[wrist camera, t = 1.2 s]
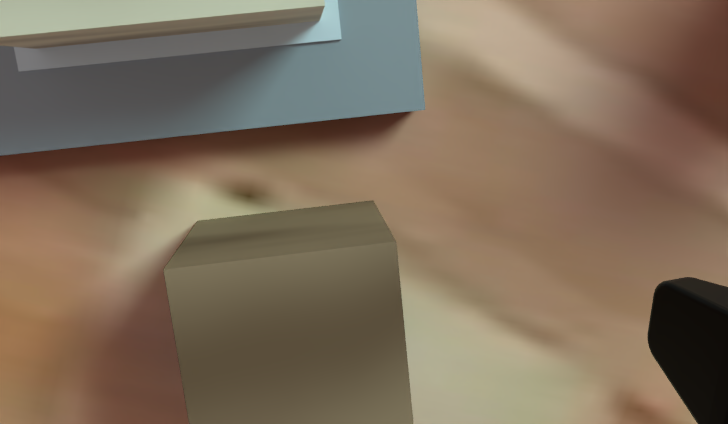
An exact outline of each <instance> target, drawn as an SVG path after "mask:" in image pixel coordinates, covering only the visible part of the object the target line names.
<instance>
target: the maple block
mask: <svg viewBox="0 0 728 424" xmlns="http://www.w3.org/2000/svg"><path fill="white" fill-rule="evenodd" d="M324 7H325V1H324V0H0V46H10V47H22V48H33V49H38V48H48V47H58V46H68V45H78V44H89V43H99V42H109V41H119V40H129V39H139V38H149V37H160V36H170V35H180V34H190V33H200V32H210V31H221V30H231V29H241V28H251V27H261V26H271V25H281V24H292V23H302V22H312V21H320V19H321V16H322V13H323V10H324Z"/></svg>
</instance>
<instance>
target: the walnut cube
mask: <svg viewBox="0 0 728 424" xmlns="http://www.w3.org/2000/svg"><path fill="white" fill-rule="evenodd" d="M163 271H164V277H165V283H166V289H167V295H168V301H169V307H170V312H171V318H172V324H173V330H174V336H175V342H176V348H177V354H178V360H179V366H180V372H181V378H182V384H183V390H184V396H185V402H186V408H187V414H188V419H189V424H413V415H412V404H411V394H410V383H409V372H408V362H407V351H406V341H405V330H404V319H403V309H402V298H401V288H400V277H399V266H398V256H397V245H396V240H395V239H394V237H393V235H392V233H391V231H390V230H389V228H388V226H387V224H386V223H385V221H384V219H383V217H382V215H381V214H380V212H379V210H378V208H377V206H376V205H375V203H374V201H364V202H356V203H347V204H339V205H330V206H321V207H313V208H304V209H296V210H287V211H278V212H270V213H261V214H253V215H244V216H236V217H227V218H218V219H210V220H201V221H197V222H196V224H195V225H194V227H193V228H192V230H191V231H190V232H189V234H188V235H187V237H186V238H185V240H184V241H183V242H182V244H181V245H180V247H179V248H178V249H177V251H176V252H175V254H174V255H173V257H172V258H171V259H170V261H169V262H168V264H167V265H166V267H165V268H164V269H163Z"/></svg>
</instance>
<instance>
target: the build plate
mask: <svg viewBox="0 0 728 424" xmlns="http://www.w3.org/2000/svg"><path fill="white" fill-rule="evenodd" d="M324 1H325V7H324V10H323V13H322V16H321V19H320V21H312V22H302V23H292V24H281V25H271V26H261V27H251V28H241V29H231V30H221V31H210V32H200V33H190V34H180V35H170V36H160V37H149V38H139V39H129V40H119V41H109V42H99V43H89V44H78V45H68V46H58V47H48V48H38V49H33V48H22V47H10V46H0V156H2V155H11V154H20V153H29V152H39V151H48V150H57V149H66V148H76V147H85V146H94V145H103V144H112V143H122V142H131V141H140V140H149V139H159V138H168V137H177V136H186V135H196V134H205V133H214V132H223V131H233V130H242V129H251V128H260V127H270V126H279V125H288V124H297V123H307V122H316V121H325V120H334V119H344V118H353V117H362V116H371V115H381V114H390V113H399V112H408V111H417V110H425V102H424V90H423V77H422V65H421V53H420V41H419V29H418V16H417V4H416V0H324Z"/></svg>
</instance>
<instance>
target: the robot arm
mask: <svg viewBox="0 0 728 424" xmlns="http://www.w3.org/2000/svg"><path fill="white" fill-rule="evenodd" d="M648 344H649V348H650V350H651V353H652V355H653V357H654V358H655V360H656V361H657V363H658V364H659V366H660V367H661V369H662V370H663V372H664V373H665V375H666V376H667V378H668V379H669V381H670V382H671V384H672V385H673V387H674V388H675V390H676V391H677V393H678V394H679V396H680V398H681V399H682V401H683V402H684V404H685V405H686V407H687V408H688V410H689V411H690V413H691V414H692V416H693V417H694V419H695V420H696V422H697V423H698V424H728V287H725V286H721V285H718V284H714V283H711V282H707V281H703V280H700V279H696V278H692V277H684V278H679V279H674V280H668V281H664V282H662V283H660V284H659V285H658V286H657V287H656V289H655V292H654V296H653V303H652V309H651V316H650V322H649V329H648Z"/></svg>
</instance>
